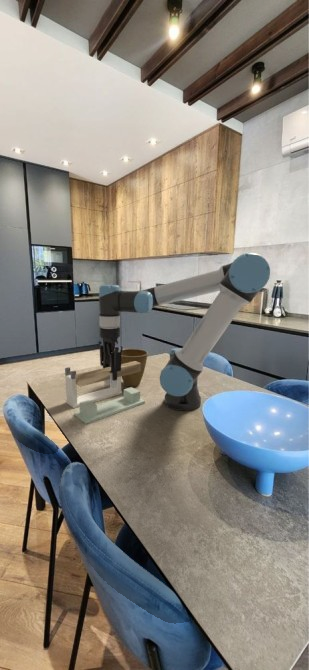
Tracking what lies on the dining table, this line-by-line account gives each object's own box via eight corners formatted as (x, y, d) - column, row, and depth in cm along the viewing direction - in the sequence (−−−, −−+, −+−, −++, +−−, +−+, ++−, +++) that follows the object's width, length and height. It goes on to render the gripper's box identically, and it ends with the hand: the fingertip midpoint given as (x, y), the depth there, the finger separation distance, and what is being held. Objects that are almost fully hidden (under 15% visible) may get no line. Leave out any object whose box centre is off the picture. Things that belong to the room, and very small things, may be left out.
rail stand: (121, 393, 126) (121, 361, 123) (73, 408, 112) (71, 372, 108) (113, 388, 131) (112, 357, 128) (66, 402, 117) (64, 367, 114)
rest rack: (145, 403, 117) (145, 391, 116) (85, 424, 100) (85, 411, 99) (132, 396, 124) (132, 385, 123) (74, 414, 107) (73, 402, 106)
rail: (140, 371, 117) (140, 363, 116) (80, 386, 99) (79, 377, 99) (135, 369, 119) (135, 361, 118) (75, 383, 102) (75, 374, 101)
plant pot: (146, 390, 130) (147, 356, 127) (114, 389, 131) (114, 356, 127) (148, 378, 145) (148, 348, 142) (119, 378, 145) (118, 348, 142)
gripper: (131, 329, 101) (130, 390, 106) (106, 322, 114) (107, 377, 119) (113, 331, 97) (114, 395, 101) (90, 324, 109) (91, 382, 114)
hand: (110, 385), depth 110 cm, fingers closed on rail, 3 cm apart
